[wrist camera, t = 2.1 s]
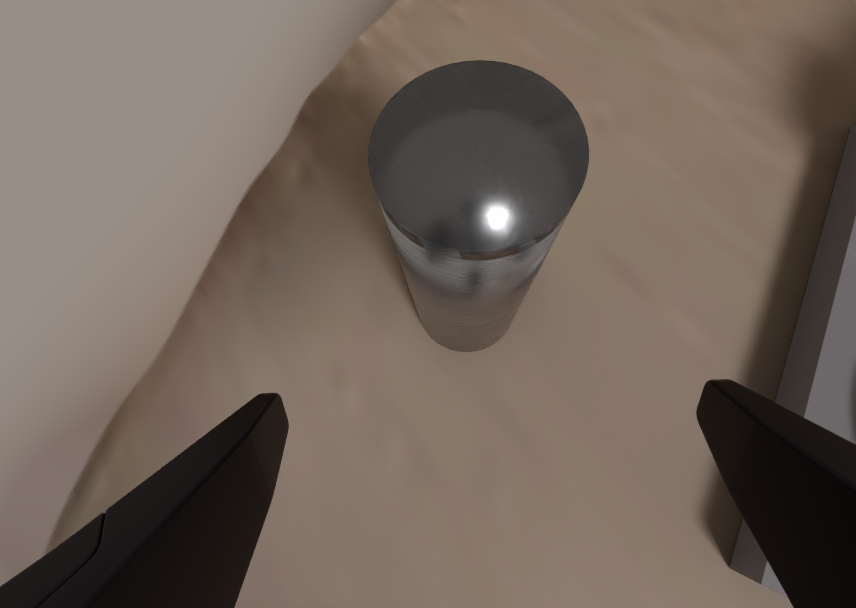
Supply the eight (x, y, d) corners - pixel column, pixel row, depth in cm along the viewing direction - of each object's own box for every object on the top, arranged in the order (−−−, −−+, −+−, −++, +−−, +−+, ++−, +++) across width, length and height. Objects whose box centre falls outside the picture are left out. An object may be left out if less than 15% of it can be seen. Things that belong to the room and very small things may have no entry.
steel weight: (491, 368, 21) (539, 286, 9) (401, 327, 22) (330, 199, 10) (529, 281, 22) (620, 99, 10) (442, 245, 23) (425, 36, 11)
